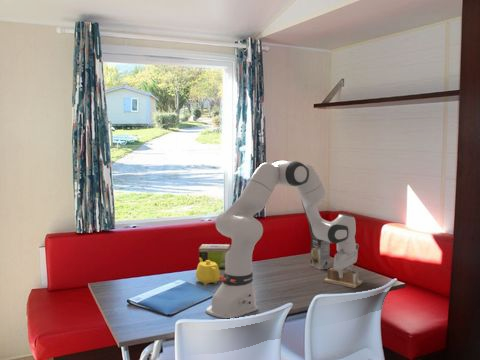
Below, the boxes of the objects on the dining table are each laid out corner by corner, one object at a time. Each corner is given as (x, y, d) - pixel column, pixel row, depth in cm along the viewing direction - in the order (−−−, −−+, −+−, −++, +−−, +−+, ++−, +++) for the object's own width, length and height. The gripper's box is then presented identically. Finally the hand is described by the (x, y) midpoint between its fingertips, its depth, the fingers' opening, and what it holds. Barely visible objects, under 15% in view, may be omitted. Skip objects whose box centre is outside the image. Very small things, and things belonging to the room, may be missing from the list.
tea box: (230, 271, 249) (230, 243, 247) (228, 277, 239) (228, 248, 237) (202, 270, 250) (202, 243, 249) (198, 276, 240) (198, 247, 239)
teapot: (189, 278, 237) (189, 257, 236) (209, 275, 242) (209, 254, 241) (205, 288, 221) (205, 266, 220) (226, 285, 227) (226, 263, 226)
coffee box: (309, 265, 260) (310, 236, 258) (319, 264, 262) (320, 235, 261) (319, 269, 251) (320, 240, 250) (329, 268, 254) (330, 238, 253)
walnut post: (327, 278, 233) (354, 283, 225) (327, 269, 233) (354, 274, 225) (331, 276, 237) (358, 281, 229) (331, 267, 236) (358, 272, 228)
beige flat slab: (354, 287, 222) (354, 285, 222) (323, 281, 232) (323, 279, 232) (362, 282, 230) (362, 280, 230) (332, 276, 240) (332, 274, 240)
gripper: (343, 252, 218) (342, 281, 220) (360, 244, 235) (359, 271, 236) (330, 250, 222) (329, 279, 223) (348, 242, 239) (347, 269, 240)
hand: (345, 275), depth 230 cm, fingers open, 8 cm apart
